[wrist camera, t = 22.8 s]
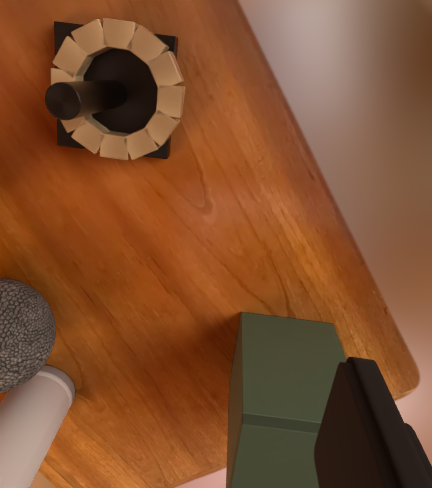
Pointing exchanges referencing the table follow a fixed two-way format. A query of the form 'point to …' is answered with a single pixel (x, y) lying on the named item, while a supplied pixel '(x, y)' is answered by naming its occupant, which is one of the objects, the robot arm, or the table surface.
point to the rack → (107, 92)
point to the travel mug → (31, 424)
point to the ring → (161, 66)
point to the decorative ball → (23, 333)
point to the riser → (278, 400)
